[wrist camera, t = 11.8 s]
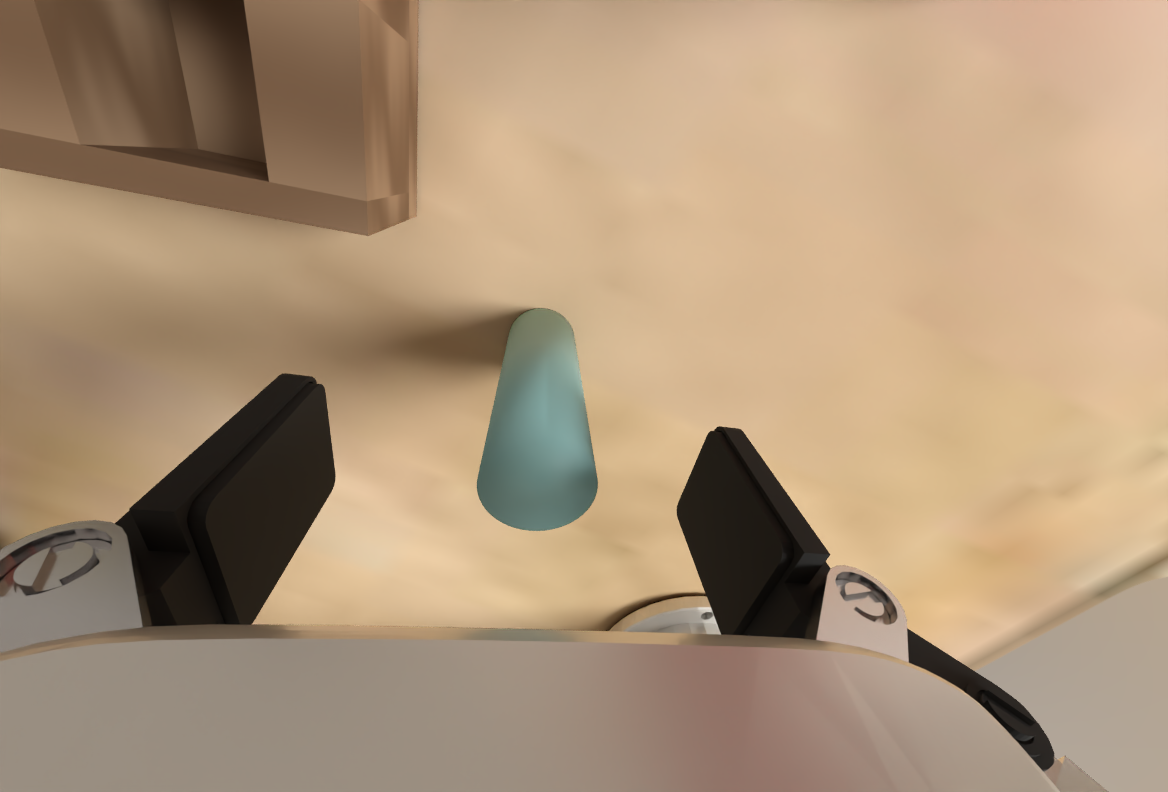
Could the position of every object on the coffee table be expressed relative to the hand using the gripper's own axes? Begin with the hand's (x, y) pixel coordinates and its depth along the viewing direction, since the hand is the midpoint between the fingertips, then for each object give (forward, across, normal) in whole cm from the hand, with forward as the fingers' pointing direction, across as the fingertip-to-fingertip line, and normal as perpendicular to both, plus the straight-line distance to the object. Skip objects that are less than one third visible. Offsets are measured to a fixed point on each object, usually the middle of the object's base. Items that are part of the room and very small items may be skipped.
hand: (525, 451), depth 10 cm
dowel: (+10, -1, +1) cm, 10 cm away
